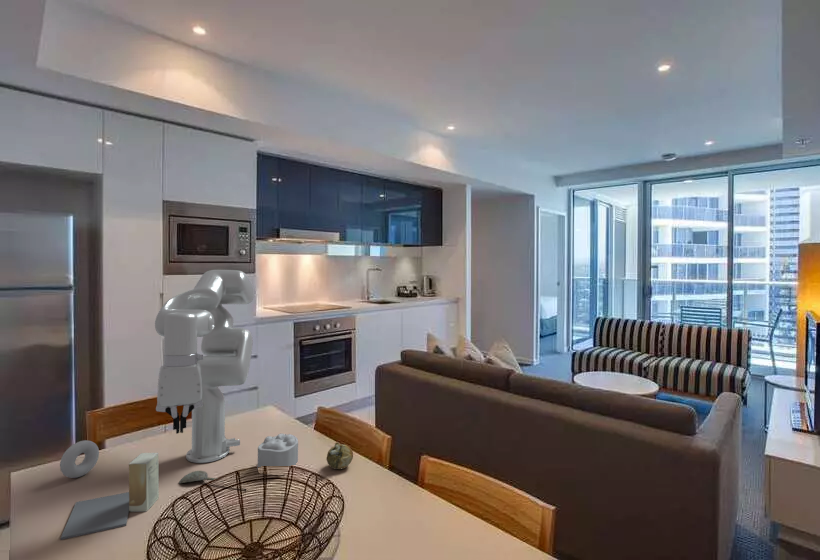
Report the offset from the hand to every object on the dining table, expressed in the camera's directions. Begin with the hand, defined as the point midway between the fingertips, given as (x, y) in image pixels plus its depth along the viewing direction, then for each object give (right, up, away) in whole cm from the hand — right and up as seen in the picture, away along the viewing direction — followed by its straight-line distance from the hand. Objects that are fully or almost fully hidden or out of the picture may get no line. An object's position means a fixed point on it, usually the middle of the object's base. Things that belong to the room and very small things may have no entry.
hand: (179, 431), depth 111 cm
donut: (-34, -17, +11) cm, 40 cm away
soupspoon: (+5, -18, +9) cm, 21 cm away
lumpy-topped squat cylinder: (+20, -18, +21) cm, 34 cm away
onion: (+38, -18, +20) cm, 47 cm away
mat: (-15, -18, -7) cm, 24 cm away
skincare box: (-8, -18, -3) cm, 20 cm away
